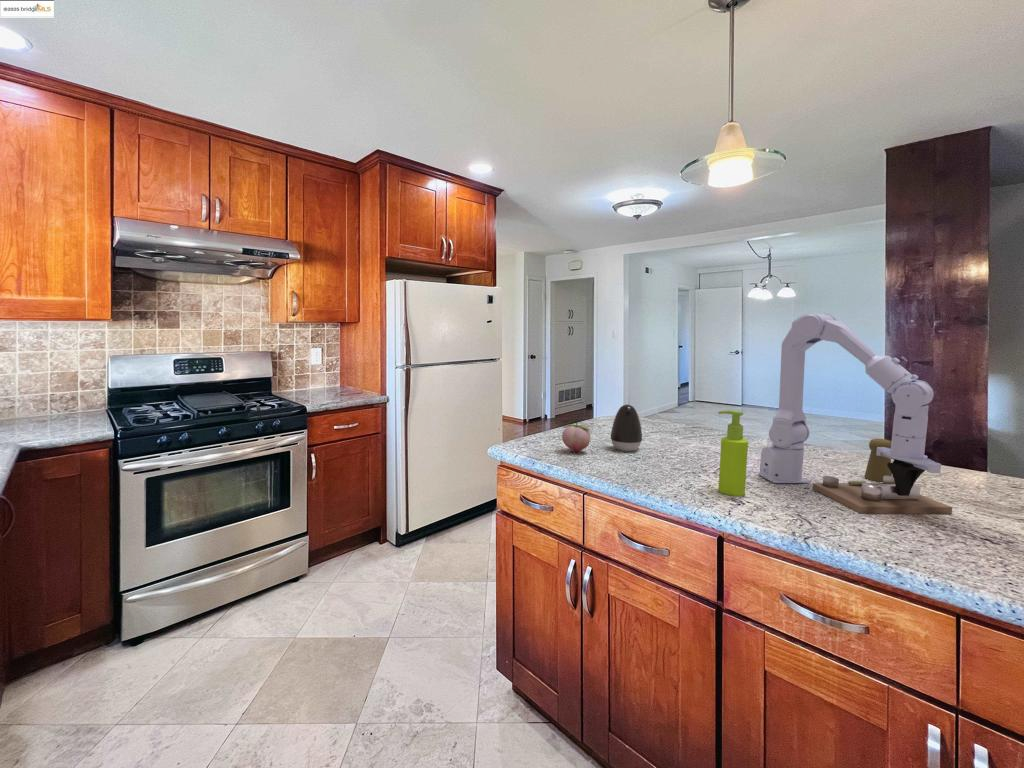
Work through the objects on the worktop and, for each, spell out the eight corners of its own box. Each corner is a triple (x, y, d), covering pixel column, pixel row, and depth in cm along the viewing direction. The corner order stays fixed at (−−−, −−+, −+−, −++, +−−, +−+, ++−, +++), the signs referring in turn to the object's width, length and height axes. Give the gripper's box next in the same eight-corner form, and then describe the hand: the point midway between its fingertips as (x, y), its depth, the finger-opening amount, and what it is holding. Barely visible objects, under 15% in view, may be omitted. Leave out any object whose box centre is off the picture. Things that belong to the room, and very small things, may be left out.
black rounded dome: (610, 452, 151) (612, 406, 150) (609, 445, 161) (611, 401, 160) (643, 454, 150) (645, 407, 148) (640, 446, 160) (641, 402, 158)
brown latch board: (860, 513, 101) (862, 497, 101) (812, 488, 117) (813, 475, 117) (952, 513, 101) (953, 498, 101) (891, 489, 118) (892, 475, 117)
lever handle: (869, 500, 104) (870, 487, 104) (857, 495, 108) (858, 482, 108) (923, 500, 104) (924, 487, 104) (909, 495, 108) (911, 482, 108)
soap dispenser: (716, 485, 119) (721, 408, 117) (746, 491, 115) (751, 411, 113) (711, 492, 114) (716, 411, 112) (742, 497, 111) (747, 414, 108)
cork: (897, 483, 122) (901, 442, 121) (871, 482, 123) (875, 441, 122) (884, 476, 128) (888, 437, 127) (859, 475, 129) (863, 436, 128)
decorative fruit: (593, 450, 154) (594, 420, 153) (587, 456, 147) (587, 425, 146) (566, 447, 158) (566, 418, 157) (558, 453, 150) (559, 422, 149)
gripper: (958, 443, 96) (951, 507, 97) (899, 429, 110) (893, 484, 112) (924, 443, 96) (917, 507, 97) (869, 428, 110) (864, 484, 112)
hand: (902, 495), depth 105 cm, fingers closed, pressing on lever handle
